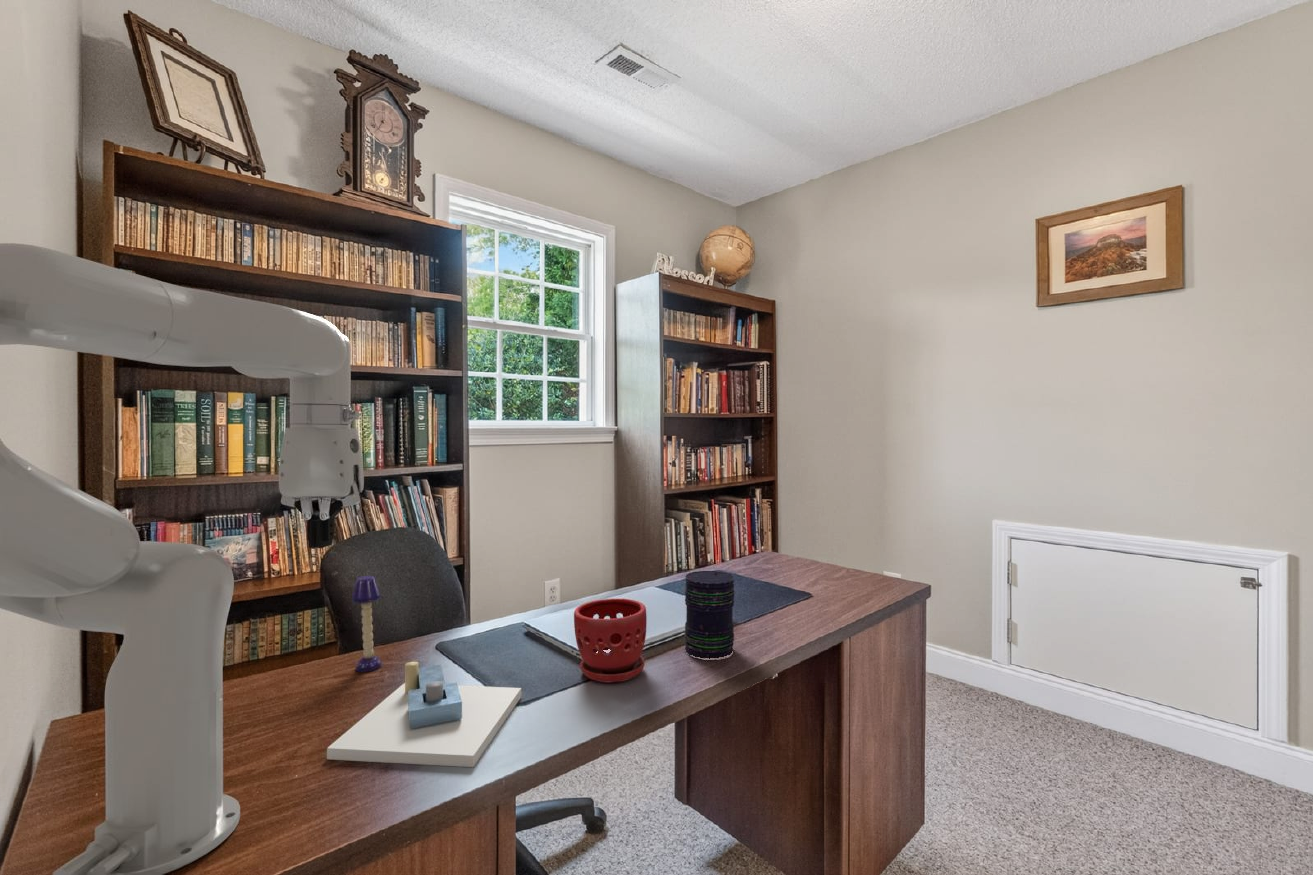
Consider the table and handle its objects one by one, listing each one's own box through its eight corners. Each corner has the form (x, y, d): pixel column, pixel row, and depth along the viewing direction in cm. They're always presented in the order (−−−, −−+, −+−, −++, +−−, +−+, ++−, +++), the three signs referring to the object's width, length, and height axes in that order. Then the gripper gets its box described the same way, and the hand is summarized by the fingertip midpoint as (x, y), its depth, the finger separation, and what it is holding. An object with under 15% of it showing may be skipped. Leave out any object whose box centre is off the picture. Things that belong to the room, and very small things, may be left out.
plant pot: (623, 653, 114) (623, 593, 114) (660, 677, 104) (660, 610, 103) (562, 668, 107) (562, 603, 107) (594, 695, 96) (595, 623, 96)
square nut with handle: (461, 718, 85) (461, 701, 85) (409, 728, 82) (409, 711, 82) (451, 677, 99) (451, 662, 99) (406, 684, 96) (406, 669, 96)
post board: (473, 767, 76) (473, 721, 75) (327, 759, 77) (327, 714, 77) (521, 697, 95) (521, 660, 95) (404, 692, 97) (404, 656, 97)
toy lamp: (359, 675, 104) (359, 581, 104) (347, 668, 107) (347, 577, 106) (385, 666, 108) (385, 576, 107) (373, 660, 110) (373, 572, 110)
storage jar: (720, 665, 109) (721, 585, 109) (675, 654, 114) (675, 578, 114) (741, 648, 118) (742, 574, 117) (698, 639, 123) (699, 568, 123)
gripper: (385, 419, 87) (385, 541, 87) (285, 418, 87) (285, 541, 87) (360, 418, 79) (360, 552, 80) (250, 417, 79) (250, 551, 79)
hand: (320, 546), depth 83 cm, fingers closed
